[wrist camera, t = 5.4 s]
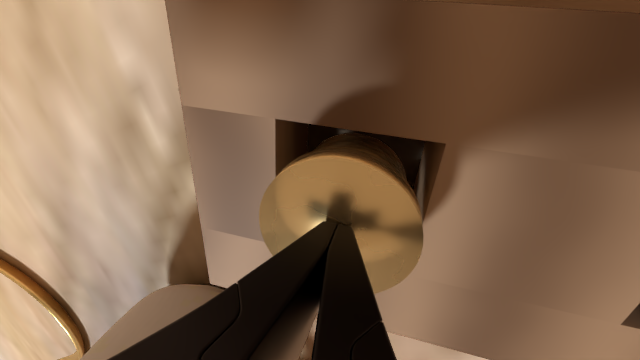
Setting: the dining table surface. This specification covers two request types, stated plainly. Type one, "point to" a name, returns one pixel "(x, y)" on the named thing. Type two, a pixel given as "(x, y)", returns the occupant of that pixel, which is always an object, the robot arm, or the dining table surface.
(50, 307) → the gold ring
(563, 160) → the walnut block
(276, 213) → the brass plug
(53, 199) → the dining table surface
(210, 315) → the robot arm
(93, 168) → the dining table surface
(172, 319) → the teacup
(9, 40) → the dining table surface
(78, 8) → the dining table surface
